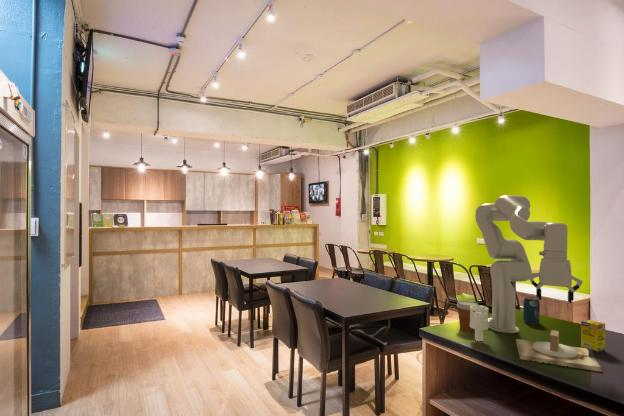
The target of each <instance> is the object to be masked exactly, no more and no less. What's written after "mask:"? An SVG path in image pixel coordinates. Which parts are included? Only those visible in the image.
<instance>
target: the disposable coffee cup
mask: <svg viewBox="0 0 624 416" xmlns="http://www.w3.org/2000/svg"><path fill="white" fill-rule="evenodd" d="M473 305H477V306H479V304H478V302H474V301H469V300H468V301H467V300H460V301H459V300H458V302H457V304H456V307H457V311H458V312H457V313H458V322H459V329H460V330H462V331H464V332H475V329H473V328H471V327H470V306H473ZM476 309H479V308H476ZM473 312H476V311H473Z"/></svg>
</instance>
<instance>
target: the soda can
mask: <svg viewBox="0 0 624 416" xmlns="http://www.w3.org/2000/svg"><path fill="white" fill-rule="evenodd" d="M540 303H541V302H540V300H539V299H538V297H533V296H525V297H524V299H523V307H522V308H523V309H522V310H523V311H522V312H523V315H522V316H523V317H522V319H523V321H524V323H527V324H531V325H538V324H539V322H540V320H541V319H540V318H541V317H540V309H541V307H540V306H541V305H540Z"/></svg>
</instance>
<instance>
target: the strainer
mask: <svg viewBox="0 0 624 416" xmlns="http://www.w3.org/2000/svg"><path fill="white" fill-rule="evenodd" d="M476 308H478V309H476ZM473 311H476V312H473ZM488 319H489V307H487V306H485V305H480V304H478V306H477V305H473V306H470V327H471V328H473V329H475V331H474V341H475V340H476V341H475V342H477V341H483V342H484V338H483V337H484V331H487V330H489V327H488V325H489V323H488Z"/></svg>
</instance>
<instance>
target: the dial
mask: <svg viewBox="0 0 624 416" xmlns="http://www.w3.org/2000/svg"><path fill="white" fill-rule="evenodd" d="M569 346H570V345H567V344H566V345H565V344H563V343H560V331H559V330H553V329H551V330H550V334H549V341H535V343H533V349H534V350H535V351H537V352H539V353H542V354H545V355H548V356H552V357H558V358H575V357H577V351H576V350H575V349H573V348H571V347H572V346H571V347H569ZM579 357H582V351H579Z"/></svg>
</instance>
